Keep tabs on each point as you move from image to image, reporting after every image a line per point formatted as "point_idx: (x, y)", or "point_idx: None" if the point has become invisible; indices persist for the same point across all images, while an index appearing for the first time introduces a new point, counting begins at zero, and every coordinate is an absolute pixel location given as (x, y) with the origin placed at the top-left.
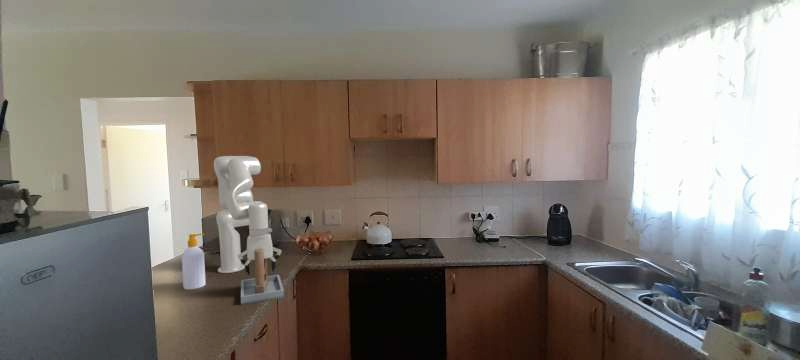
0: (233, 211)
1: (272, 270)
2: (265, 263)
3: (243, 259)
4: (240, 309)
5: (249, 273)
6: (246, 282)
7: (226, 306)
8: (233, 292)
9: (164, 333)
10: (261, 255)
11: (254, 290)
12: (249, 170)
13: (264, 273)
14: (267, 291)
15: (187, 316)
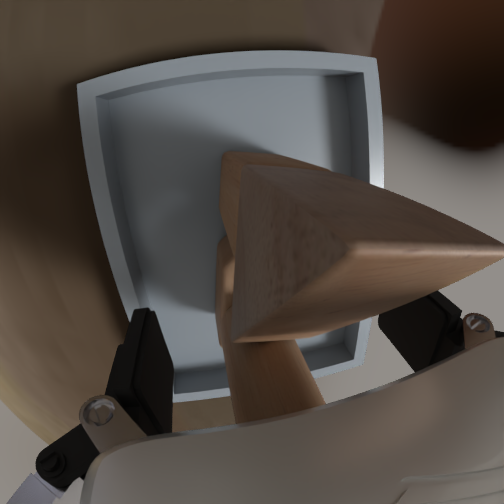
0: None
1: (382, 327)
2: (369, 316)
3: (80, 485)
4: (178, 405)
5: (172, 372)
6: (120, 93)
7: (108, 369)
8: (66, 189)
9: (47, 442)
10: None
11: (199, 236)
12: None
13: (308, 337)
14: None
15: (26, 390)
